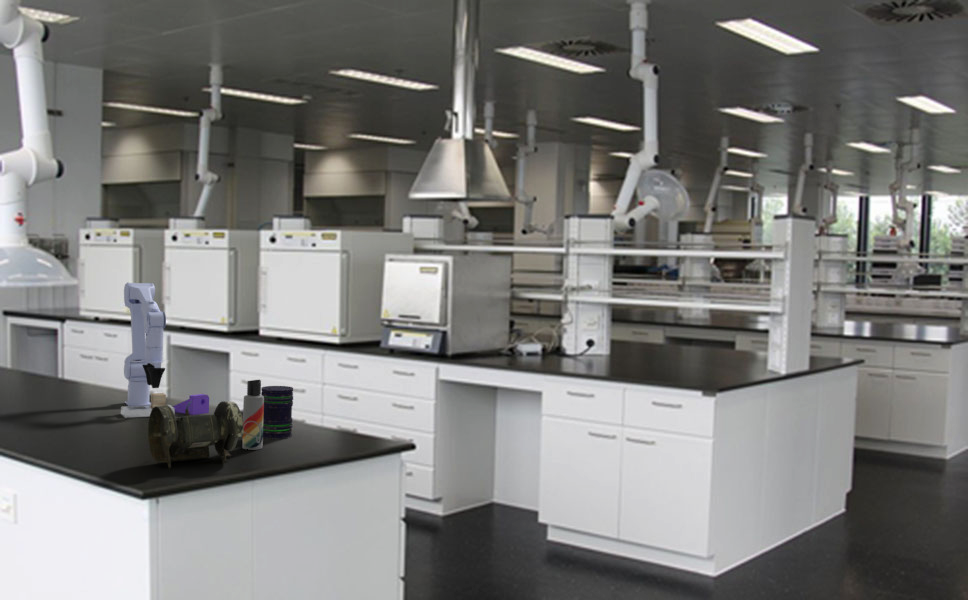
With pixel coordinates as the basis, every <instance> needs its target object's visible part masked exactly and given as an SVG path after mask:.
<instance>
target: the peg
mask: <svg viewBox="0 0 968 600" xmlns="http://www.w3.org/2000/svg"><path fill="white" fill-rule="evenodd" d="M150 400H151V401H150V403H151V408H152V409H153V408H154V407H156V406H164V405H167V394H165V393H164V392H157V393H155V392H154V393H151V395H150Z"/></svg>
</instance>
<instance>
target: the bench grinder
mask: <svg viewBox="0 0 968 600" xmlns="http://www.w3.org/2000/svg"><path fill="white" fill-rule="evenodd" d="M191 402H192V401H190V402H189V404H188V405H187V407H186V410H185V412H186V414H185V416H179V417H176V416H175V415H174V413H173V411H172V409H171V408H170V407H169V406H168V405H169V404H166V405H164V406H156V407H154V408H153V409H152V411H151V413H150V417H148V422H147V423H148V425H147V439H148V440H147V441H148V446H149V450H150V453H151V454H150V455H151V456H152V458H153V460H154V462H156V463H157V464H163V463H165V464H167V466H168V469H171V467H172V463H173V461H174V462H182V461H184V460H185V461H194V460H203V459H209V458H210V457H211V454H210V446H214V449H215V451H216V452H217V454H218V455H219V456H220V457H221V463H222V464H223V463H225V462H226V461H227V457H231V456H232V455H231V453H229V452H230V451H233V450H234V449H235V448H236V446H237V443H238V440H239V438H241V437H243V434H244V429H243V414H242V412H241V409H240V408H239V405H238V404H237V403H236V402H235V401H232V400H231V401H220V402H219V403H218V404H217V406H216V408H215V409H214V412H213V414H197V415H190V414H189V410H188V407H189V405H190V403H191Z"/></svg>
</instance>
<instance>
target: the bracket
mask: <svg viewBox="0 0 968 600" xmlns="http://www.w3.org/2000/svg"><path fill="white" fill-rule="evenodd" d="M209 396H210V395H208V394H203V393H199V394H191V395H189V398H188V399H185V400H184V401H182V402H180V403H177V404H174V405H173V406H172V405H171V406H172V407H174V408H175V413H180V414H185V415H186V412H185V410H186V407H187V405H188V404H189V402H190V401H192V402H191V403H190V405H189V407H188V410H189V416H192V415H205V414H209V413H210V397H209Z"/></svg>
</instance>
